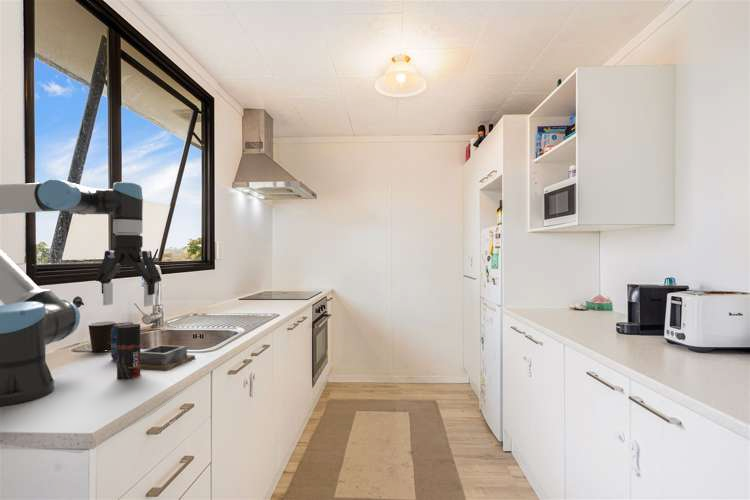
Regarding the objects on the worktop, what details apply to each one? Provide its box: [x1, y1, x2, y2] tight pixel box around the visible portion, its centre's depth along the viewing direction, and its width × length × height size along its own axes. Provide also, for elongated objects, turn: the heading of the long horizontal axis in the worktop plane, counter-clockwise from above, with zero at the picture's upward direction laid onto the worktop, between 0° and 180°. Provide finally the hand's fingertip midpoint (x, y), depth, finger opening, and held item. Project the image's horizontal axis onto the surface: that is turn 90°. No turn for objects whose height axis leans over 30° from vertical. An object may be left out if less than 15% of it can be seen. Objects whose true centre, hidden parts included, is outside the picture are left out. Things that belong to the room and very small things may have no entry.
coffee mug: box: [87, 320, 117, 353], centre depth 150 cm, size 12×9×10 cm
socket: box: [140, 344, 196, 371], centre depth 132 cm, size 14×14×4 cm
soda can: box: [110, 322, 134, 362], centre depth 137 cm, size 7×7×12 cm
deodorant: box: [116, 323, 141, 380], centre depth 118 cm, size 6×6×15 cm
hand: (128, 305), depth 120 cm, fingers open, 13 cm apart
